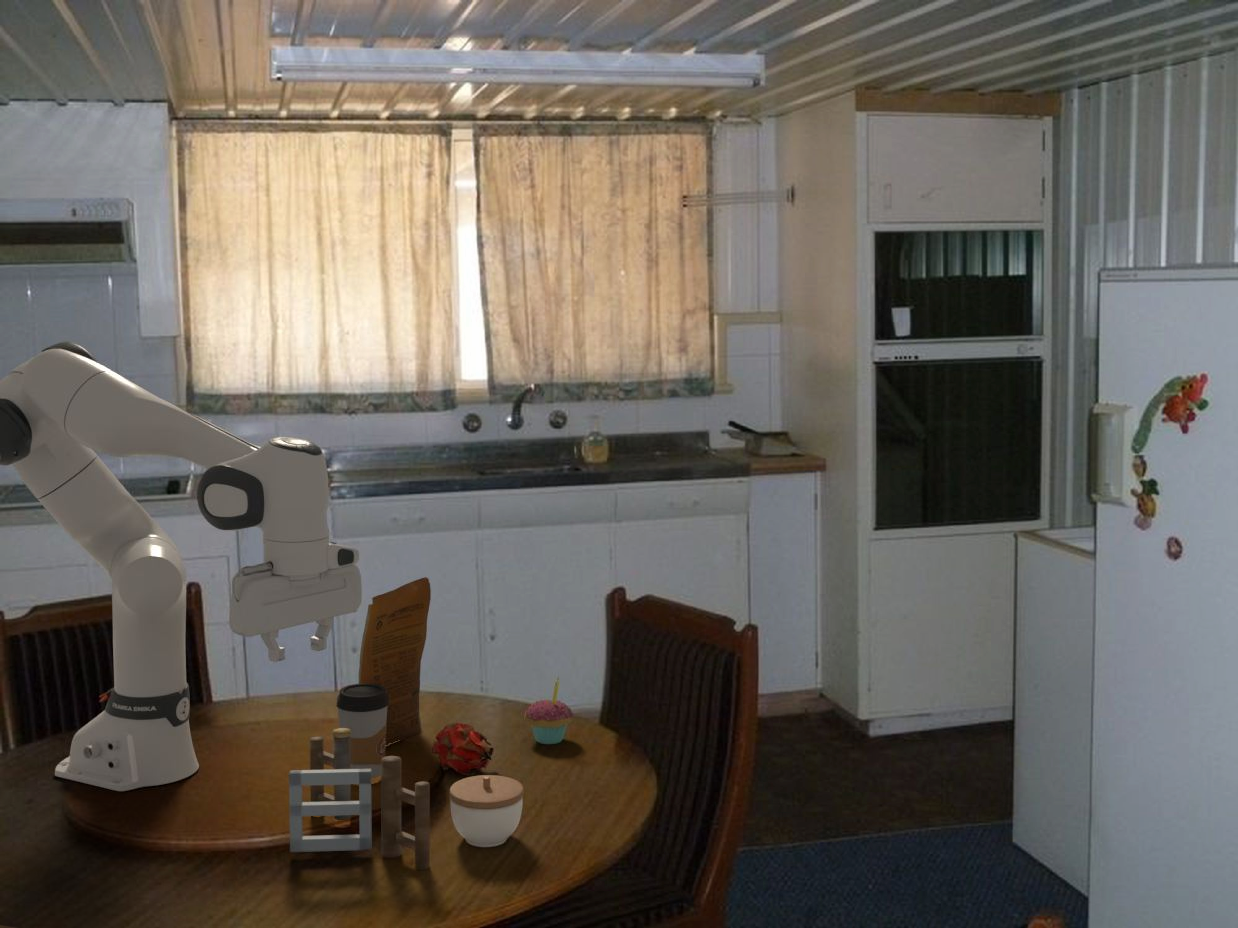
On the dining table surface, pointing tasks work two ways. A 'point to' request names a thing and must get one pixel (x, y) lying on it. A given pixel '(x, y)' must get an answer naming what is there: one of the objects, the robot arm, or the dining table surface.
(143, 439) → the robot arm
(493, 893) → the dining table surface
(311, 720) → the dining table surface
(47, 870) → the dining table surface
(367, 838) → the gate
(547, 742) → the cupcake
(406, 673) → the pancake mix bag
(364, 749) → the coffee cup
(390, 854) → the fence
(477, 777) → the lidded jar
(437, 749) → the dragon fruit
